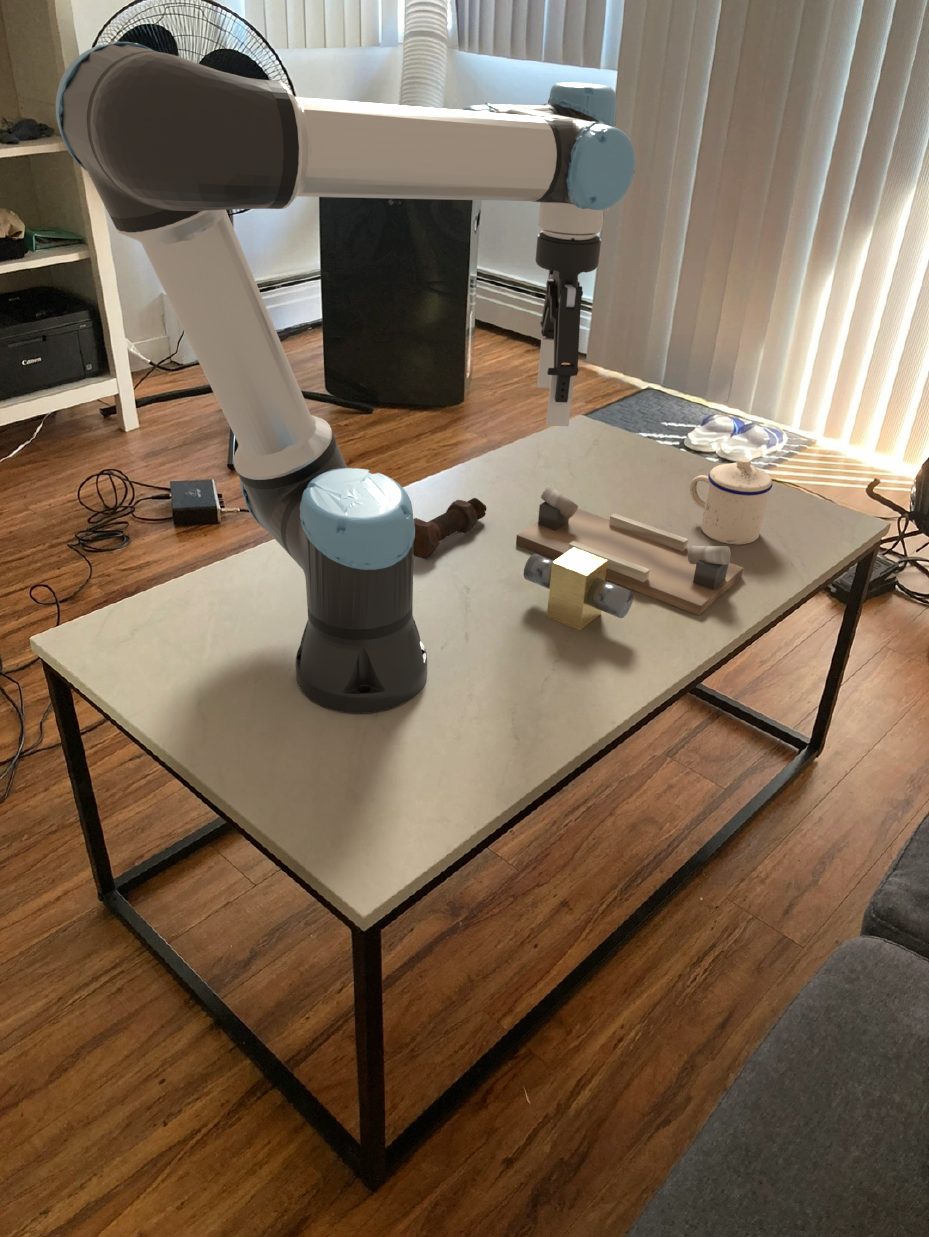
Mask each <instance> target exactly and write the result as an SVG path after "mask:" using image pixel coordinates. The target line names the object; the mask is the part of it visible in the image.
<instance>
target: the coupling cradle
mask: <svg viewBox="0 0 929 1237" xmlns="http://www.w3.org/2000/svg"><path fill="white" fill-rule="evenodd" d="M540 499H541V500H543V501H544V502H542V503H540V504H539V508H538V509H539V510H538V518H537V520H538V521H537V522H535V523H533V524H531V526H529V527H527V528H525V529H524V530H522V531H521V532H519V533H517V534H516V540H515V541H516V542H515V544H516V545H517V546H519V547H522V548H525V549H528V550H530V551H533V552H536V553H538V554H539V555H540V554H541V555H542V556H544V557H547V558H548V557H549V559H550V558H551V559H552V560H553V559H554V560H556V559H557V558H559V557H560V556H562V555H563V554H565V553H566V552H568V551H569V550H571V549H572V548H577V549H580V550H582V551H585V552H588V553H590V554H593V555H595V556H598V557H601V558H603V559H606V560H608V562H607V570H606V577H605V580H607V581H608V582H609V581H610V582H612V583H613V584H616V585H618V586H621V587H624V588H626V589H630V590H631V591H635V592H637V593H640V594H642V595H645V596H648V597H651V598H653V599H656V600H658V601H661V602H663V603H666V604H668V605H671V606H674V607H676V608H679V609H681V610H683V611H686V612H689V613H691V614H693V615H697V616H701V615H702V613H704V612H706V610H708V608H709V607H710V606H712V604H714V603H715V602H716V601H717V600H718V599H719V598H720V597H721V596H722V595H723V594H725V593H726V591H728V590H729V589H730V588H731V587H732V586H733V585H734V584H735V583H736V582H738V581H739V580H740V579H741V578H742V575H743V571H744V567H743V566H739V565H737V564H734V563H732V562H730V560H731V557H732V555H731V554H732V553H731V549H730V547H729V546H727V545H719V546H718V545H692V546H690V547H688V542H689V538H686V537H684V536H681V535H678V534H675V533H671V532H669V531H667V530H663V529H660V528H658V527H654V526H652V525H649V524H647V523H644V522H641V521H637V520H635V519H632V518H629V517H626V516H624V515H621V514H618V513H616V512H614V513H612V514H611V515H609V516H610V517H609V519H608V518H606V517H602V516H599V515H597V514H594V513H591V512H588V511H585V510H583V509H580V508H579V505H578V504H577V503H575V502H574V501H573V500H571V499H570V498H569V497H567V496H566V495H565V494H564V493H562V492H561V491H560V490H558V489H557V488H556V487H554V486H553V485H552V484H549V485H548V486H546V488H545V489H544V490H543V492H542V493H541V496H540Z"/></svg>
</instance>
